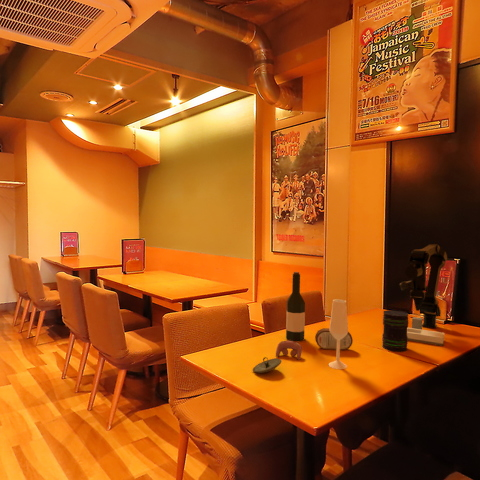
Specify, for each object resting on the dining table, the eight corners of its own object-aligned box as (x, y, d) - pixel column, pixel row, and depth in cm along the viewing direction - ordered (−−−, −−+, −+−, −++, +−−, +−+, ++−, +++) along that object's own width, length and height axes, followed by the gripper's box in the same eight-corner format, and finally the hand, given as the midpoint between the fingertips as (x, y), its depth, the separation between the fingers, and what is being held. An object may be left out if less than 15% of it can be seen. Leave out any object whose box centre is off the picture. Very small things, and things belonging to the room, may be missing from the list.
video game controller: (301, 361, 148) (303, 343, 150) (300, 359, 144) (301, 341, 146) (276, 358, 151) (278, 340, 153) (274, 356, 147) (276, 338, 149)
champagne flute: (344, 370, 135) (345, 303, 134) (325, 366, 138) (327, 301, 137) (349, 364, 141) (351, 300, 139) (331, 360, 144) (333, 298, 143)
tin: (351, 348, 158) (352, 328, 158) (353, 351, 155) (353, 331, 155) (314, 347, 160) (315, 327, 159) (315, 349, 157) (316, 329, 156)
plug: (412, 331, 186) (413, 316, 185) (421, 332, 184) (422, 318, 183) (411, 333, 182) (412, 318, 182) (420, 334, 180) (421, 319, 180)
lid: (280, 378, 127) (280, 364, 127) (250, 376, 129) (251, 361, 129) (282, 366, 138) (282, 353, 137) (254, 364, 139) (255, 351, 139)
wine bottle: (283, 340, 169) (284, 272, 167) (288, 335, 176) (289, 270, 175) (302, 342, 166) (303, 274, 164) (306, 337, 173) (307, 271, 172)
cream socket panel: (387, 331, 184) (388, 324, 184) (444, 340, 171) (444, 332, 171) (384, 336, 176) (384, 329, 176) (442, 346, 164) (443, 338, 163)
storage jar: (410, 348, 160) (412, 313, 160) (402, 353, 153) (403, 317, 152) (387, 342, 167) (388, 309, 166) (378, 347, 160) (379, 312, 159)
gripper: (403, 272, 193) (402, 302, 194) (398, 277, 177) (397, 310, 178) (427, 274, 188) (426, 305, 189) (424, 279, 172) (423, 313, 172)
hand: (418, 308), depth 182 cm, fingers open, 9 cm apart
